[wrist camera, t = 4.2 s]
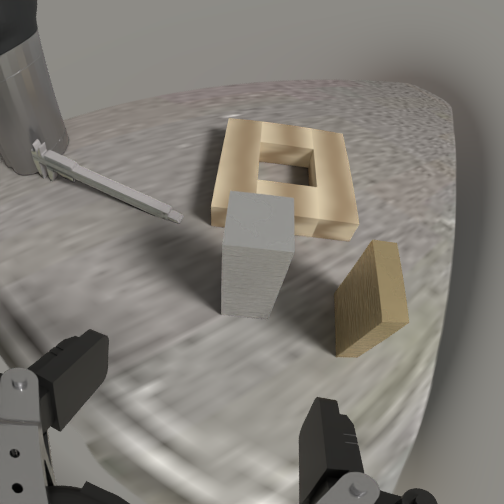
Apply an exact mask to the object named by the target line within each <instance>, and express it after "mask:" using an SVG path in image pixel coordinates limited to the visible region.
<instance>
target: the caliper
mask: <svg viewBox="0 0 504 504" xmlns="http://www.w3.org/2000/svg"><path fill="white" fill-rule="evenodd" d="M32 146H33V148H32V149H31V153H32V157H33V161H34V163H35V165H36V167H37V169H38V171H39V173H40V175H41V176H42V177H43V178H45V177H46V176H47V175H49V178H50V181H54V180H55V179H56V177H57V176H58V174H60V175H61V176H62V177H64V178H66V179H69V180H70V181H72V182H75V181H76V180H78V181H80V182H82V183H85V184H87V185H89V186H91V187H93V188H95V189H98V190H100V191H102V192H104V193H106V194H108V195H111V196H113V197H115V198H117V199H119V200H121V201H124V202H126V203H128V204H130V205H132V206H134V207H137V208H139V209H141V210H143V211H145V212H147V213H150V214H152V215H154V216H157V217H160V218H163V219H166V220H168V219H169V220H171V221H173V222H175V223H178V224H180V222H181V220H182V218H183V217H184V216H183V215H182V214H181V213H179V212H177V211H175V210H172V206H170V205H168V204H165V203H163V202H161V201H159V200H157V199H154V198H152V197H150V196H148V195H145V194H143V193H141V192H139V191H137V190H134V189H132V188H130V187H127V186H125V185H123V184H121V183H118V182H116V181H114V180H112V179H109V178H107V177H105V176H103V175H100V174H98V173H96V172H93V171H91V170H89V169H87V168H84V167H82V166H80V165H78V164H77V162H76V161H74V160H71V159H69V158H67V157H65V156H63V155H60V154H58V153H56V152H54V151H51V150H48V151H47V150H46V145H45V142H44V143H43V144H42V145H41V143H40V141H39V140H38V139H37V140H36V141H35V142H34V143H33V144H32Z"/></svg>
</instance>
